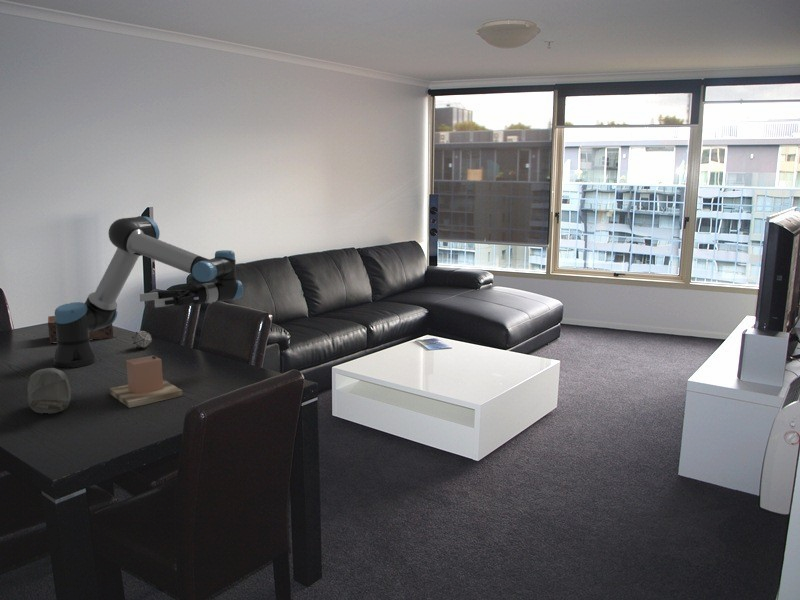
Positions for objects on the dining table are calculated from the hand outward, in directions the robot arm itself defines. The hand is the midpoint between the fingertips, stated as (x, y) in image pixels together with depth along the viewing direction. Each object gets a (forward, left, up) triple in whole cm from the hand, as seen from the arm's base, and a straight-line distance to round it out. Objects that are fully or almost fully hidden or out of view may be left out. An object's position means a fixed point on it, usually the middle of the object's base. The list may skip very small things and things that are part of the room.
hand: (147, 300), depth 235 cm
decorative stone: (-14, -34, -30) cm, 48 cm away
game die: (-30, +39, -30) cm, 58 cm away
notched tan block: (+7, -14, -28) cm, 32 cm away
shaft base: (+7, -14, -30) cm, 34 cm away
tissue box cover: (-68, +48, -31) cm, 89 cm away
